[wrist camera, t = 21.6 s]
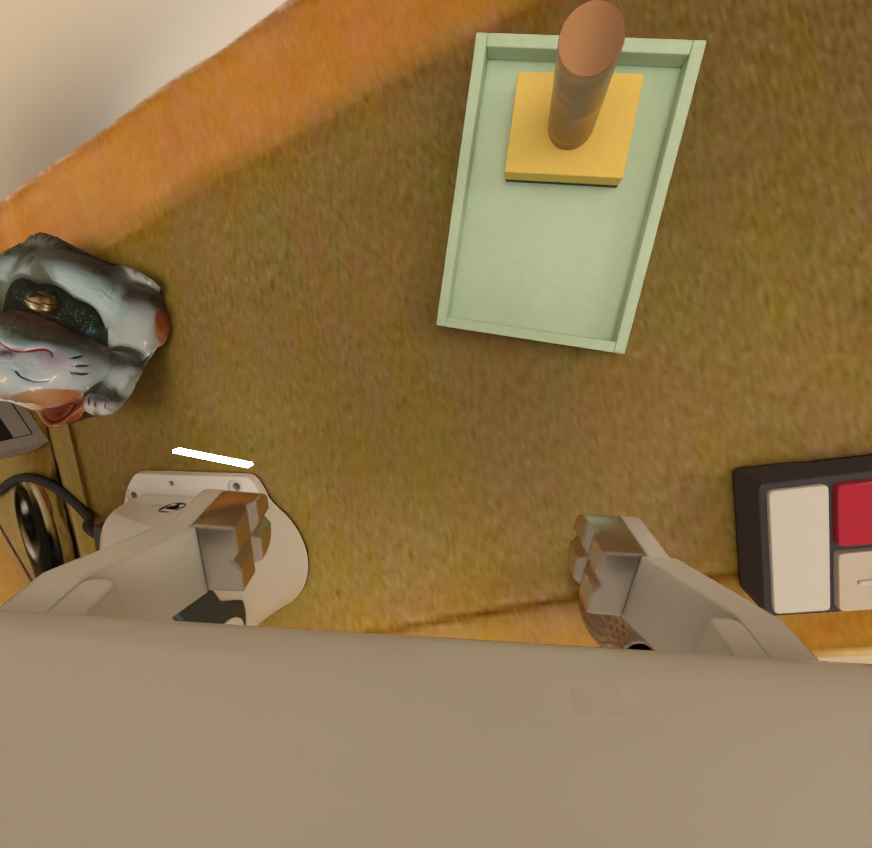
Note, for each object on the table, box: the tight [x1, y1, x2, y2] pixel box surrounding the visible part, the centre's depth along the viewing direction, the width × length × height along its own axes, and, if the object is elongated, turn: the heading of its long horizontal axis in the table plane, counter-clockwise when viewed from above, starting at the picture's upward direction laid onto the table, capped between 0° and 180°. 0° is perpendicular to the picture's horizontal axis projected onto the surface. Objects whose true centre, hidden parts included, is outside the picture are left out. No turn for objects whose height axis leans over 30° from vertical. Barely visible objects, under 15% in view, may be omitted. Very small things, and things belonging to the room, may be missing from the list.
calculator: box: [734, 455, 872, 615], centre depth 31 cm, size 11×4×15 cm
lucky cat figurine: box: [0, 232, 171, 428], centre depth 36 cm, size 15×12×14 cm
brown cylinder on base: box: [505, 0, 644, 188], centre depth 24 cm, size 8×6×11 cm
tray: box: [436, 33, 706, 354], centre depth 30 cm, size 15×20×2 cm
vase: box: [579, 595, 656, 651], centre depth 33 cm, size 7×7×9 cm
